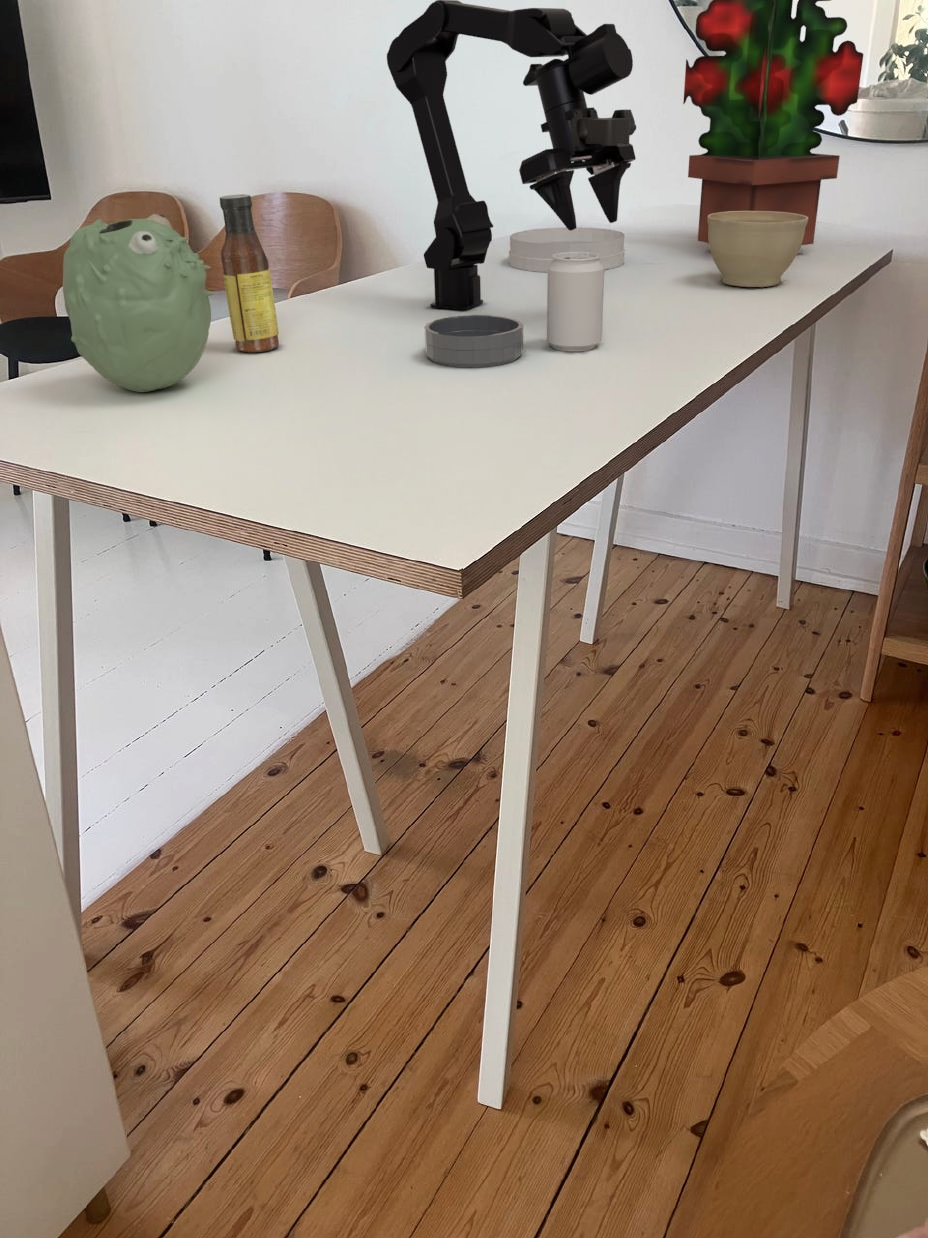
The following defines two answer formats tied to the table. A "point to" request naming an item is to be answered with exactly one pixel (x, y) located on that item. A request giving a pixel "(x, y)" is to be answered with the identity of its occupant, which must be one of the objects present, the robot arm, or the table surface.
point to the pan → (474, 340)
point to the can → (575, 301)
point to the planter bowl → (754, 245)
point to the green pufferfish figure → (136, 301)
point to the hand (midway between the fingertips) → (593, 225)
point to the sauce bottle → (247, 279)
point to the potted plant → (767, 105)
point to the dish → (564, 246)
